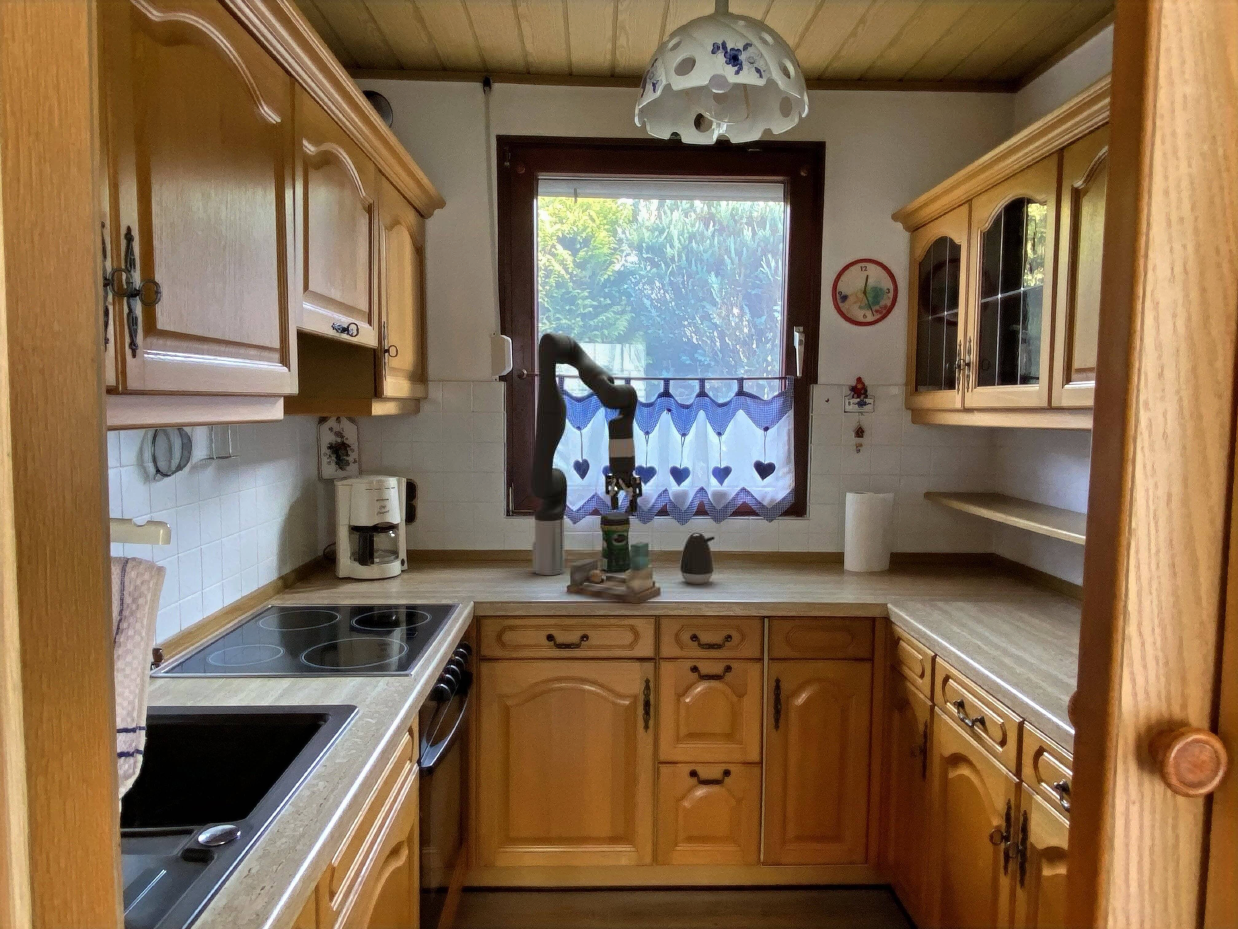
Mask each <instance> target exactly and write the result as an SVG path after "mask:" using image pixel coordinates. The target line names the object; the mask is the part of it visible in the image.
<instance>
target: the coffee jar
mask: <svg viewBox="0 0 1238 929" xmlns="http://www.w3.org/2000/svg"><path fill="white" fill-rule="evenodd" d="M599 527H600V529H601V534H602V536H601V537H602V540H601V541H602V543H601V553H600V569H601V570H602V571H603V572H610V573H611V572H613V573H616V572H617V573H619V572H626V571H628V570H630V543H629V542H630V541H629V532H630V528H631V519H630V515H629V514H628V513H625V512H610V513H603V514H600V524H599Z"/></svg>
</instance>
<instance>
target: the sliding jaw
mask: <svg viewBox="0 0 1238 929" xmlns="http://www.w3.org/2000/svg"><path fill="white" fill-rule="evenodd" d="M649 548H650V547H649V542H646V541H645V542H644V541H636V542H635V543H632V544H629V551H630V569H629V570H625V577H626V589H632V590H635V594H637V593H639V592H641V591H644V590H646V589H648V588H650V587H652V586H653V581H654V577H653V576H654V572H653V571H654V570H653V569H654V568H653V566H654V565H651V564H649V560H650V558H649V554H650V553H649V552H650V551H649V550H650V549H649Z"/></svg>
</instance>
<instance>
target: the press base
mask: <svg viewBox="0 0 1238 929" xmlns="http://www.w3.org/2000/svg"><path fill="white" fill-rule="evenodd" d="M598 562H599V561H598V558H591V557H588V558H585V559H583V560H580V561H579V560H578V561H577V562H574V563H571V564H569V578H570V579H569V580H570V581H569V582H570V583H569V584H568V585H566V593H568V594H575V595H582V596H588V597H592V598H594V597H595V598H599V597H601V599H605V598H607V599H606V600H613V601H619V602H626V603H632V604H638V605H640V604H643V603H645V602H648V600H651V599H653V598H655V597H657V596H660V595H661V593H662V592H661V588H662V587H661V586H656V580H653V586H652V587H650V588H648V589H646V590H644V591H641V592H639V593H637V594H635V590H632V589H626V575H625V576H624V575H623V576H622V575H616V574H609V573H608V574H605V578H604V577H602V580H601V581H600V582H599V583H597V584H595V582H593V581H589V579H588V575H589V573H590V572H591V571H593V570H598V571H599V565H598V564H599V563H598Z"/></svg>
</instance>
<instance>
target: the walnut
mask: <svg viewBox="0 0 1238 929" xmlns="http://www.w3.org/2000/svg"><path fill="white" fill-rule="evenodd" d="M602 578H603V574H602V573H601V571H600V570H599V569H598V570H593V571H591V572H590V573H589V575H588V579H589V581H593V582H595V584H597V583H599V582H600V581H601V580H602Z"/></svg>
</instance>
